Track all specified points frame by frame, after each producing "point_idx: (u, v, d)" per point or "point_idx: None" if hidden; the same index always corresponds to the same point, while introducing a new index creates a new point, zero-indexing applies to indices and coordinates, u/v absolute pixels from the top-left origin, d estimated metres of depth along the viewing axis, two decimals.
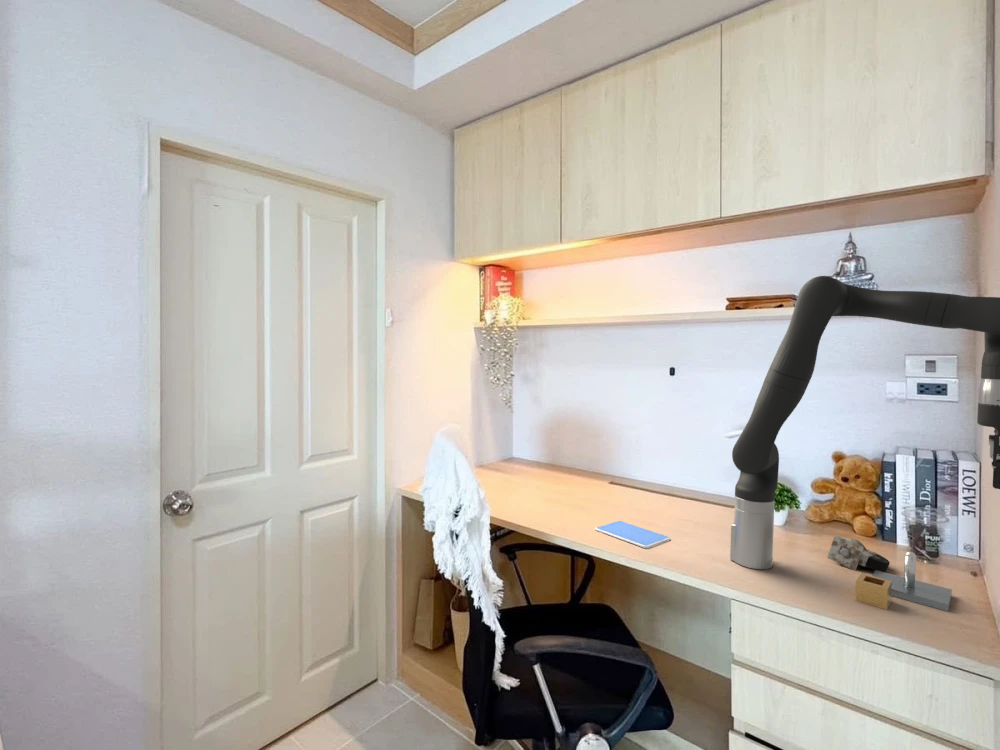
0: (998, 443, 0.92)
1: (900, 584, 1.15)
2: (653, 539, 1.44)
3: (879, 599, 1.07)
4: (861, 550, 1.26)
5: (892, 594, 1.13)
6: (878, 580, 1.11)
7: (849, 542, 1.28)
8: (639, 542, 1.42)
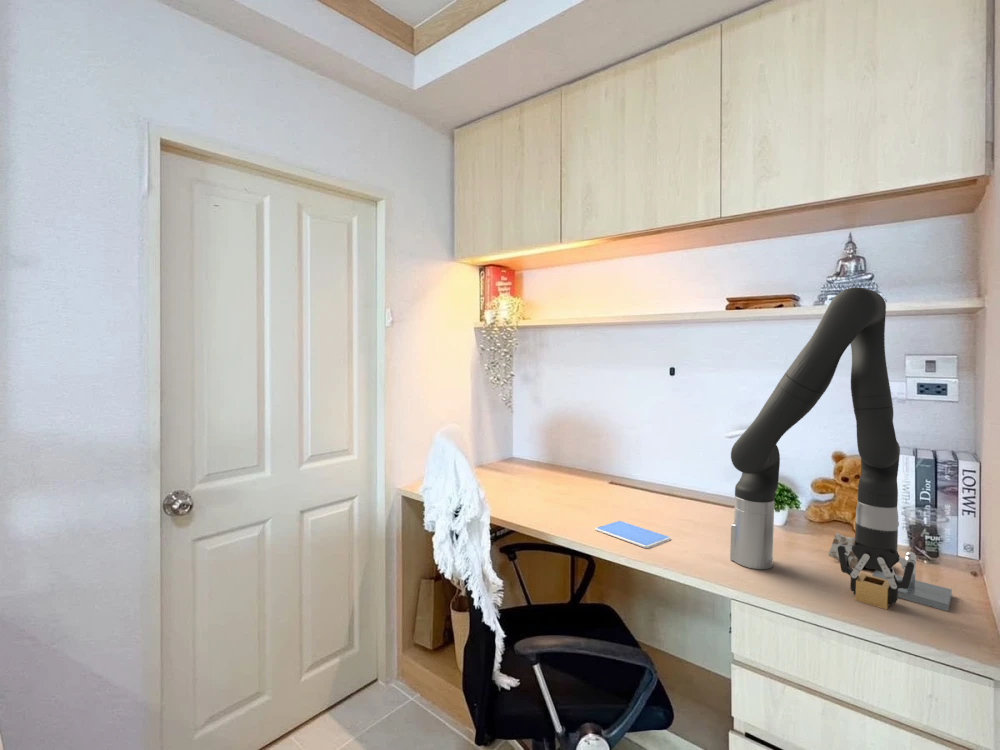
0: None
1: None
2: (654, 539, 1.44)
3: (879, 599, 1.07)
4: None
5: None
6: (878, 580, 1.11)
7: (849, 540, 1.29)
8: (639, 542, 1.42)
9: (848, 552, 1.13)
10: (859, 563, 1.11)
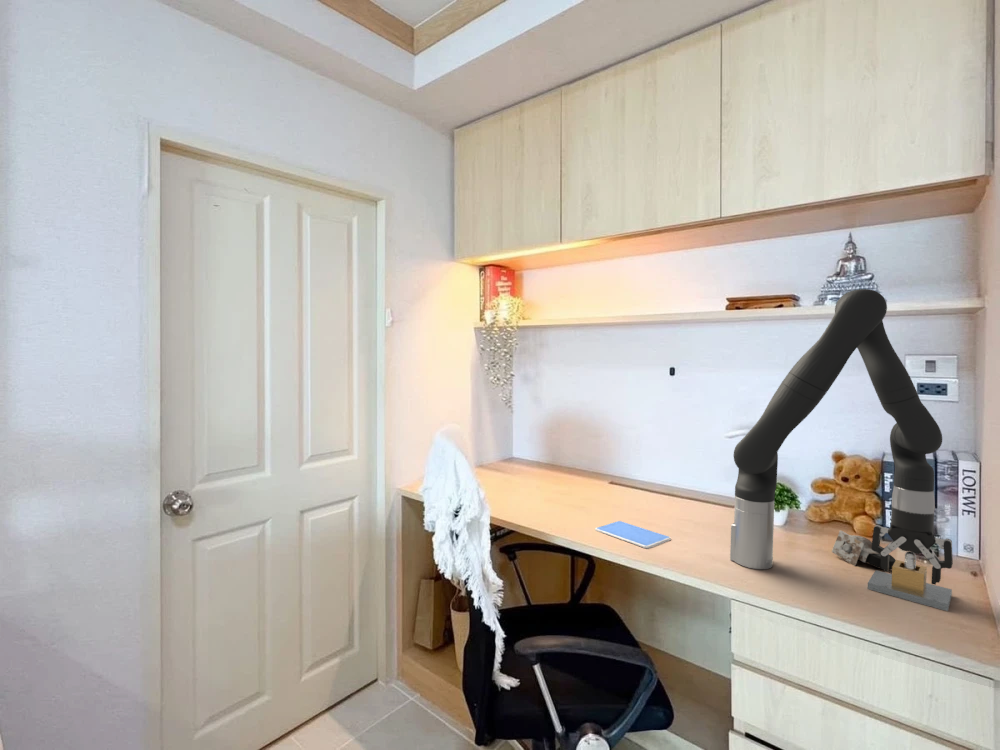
0: None
1: None
2: (654, 539, 1.44)
3: (915, 584, 1.11)
4: (861, 546, 1.28)
5: (892, 594, 1.13)
6: None
7: (851, 538, 1.31)
8: (639, 542, 1.42)
9: (883, 533, 1.17)
10: (893, 544, 1.15)
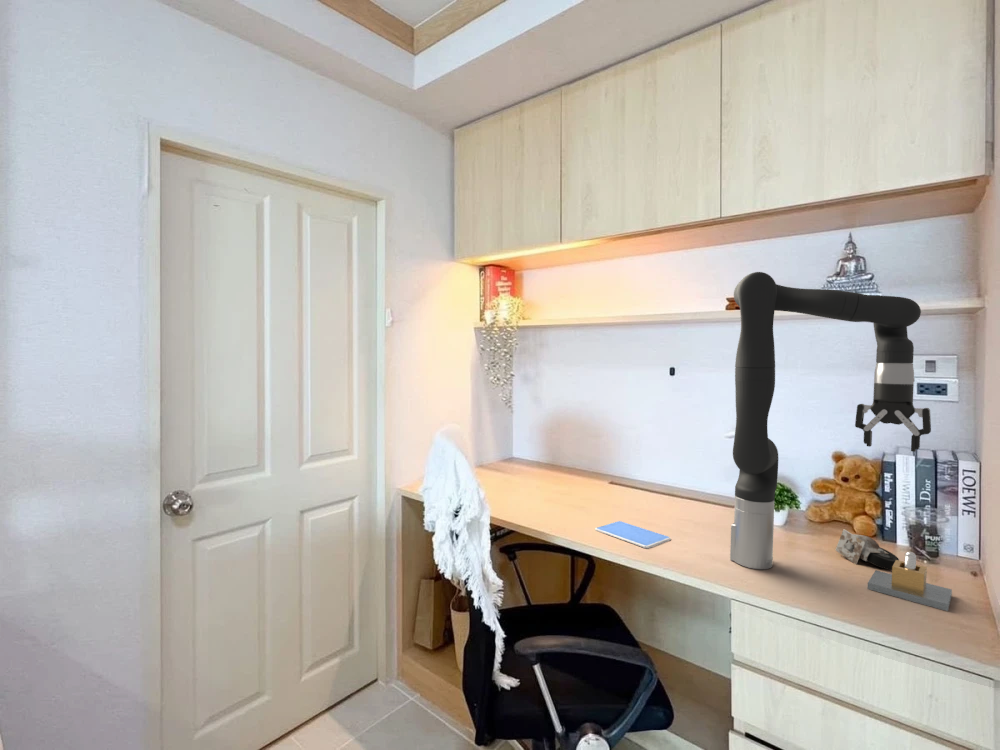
0: None
1: None
2: (654, 539, 1.44)
3: (915, 584, 1.11)
4: (862, 545, 1.29)
5: (892, 594, 1.13)
6: None
7: (854, 537, 1.32)
8: (639, 542, 1.42)
9: (866, 410, 1.23)
10: (875, 418, 1.21)
